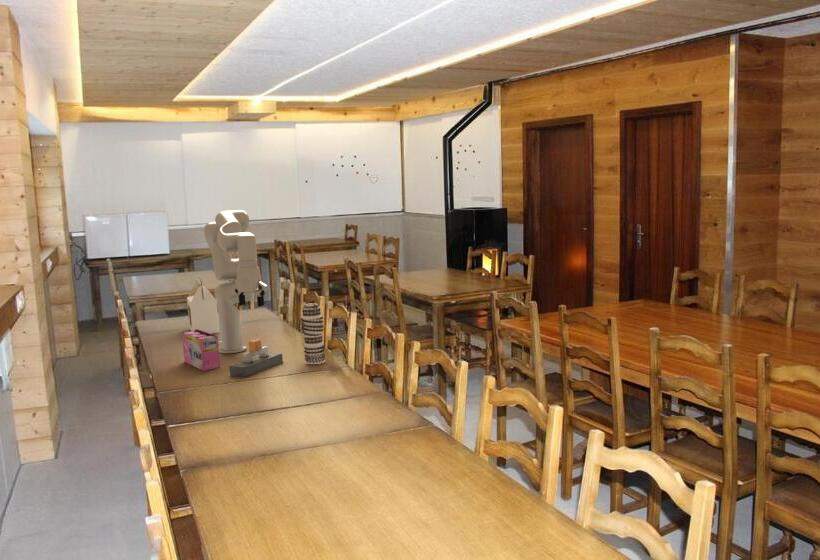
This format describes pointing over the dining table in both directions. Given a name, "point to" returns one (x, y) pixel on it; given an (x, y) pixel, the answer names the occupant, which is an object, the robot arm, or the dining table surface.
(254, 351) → the clip
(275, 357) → the grey block with holes
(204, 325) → the gable box
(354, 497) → the dining table surface
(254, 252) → the robot arm
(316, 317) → the decorative candle
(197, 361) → the gum box
